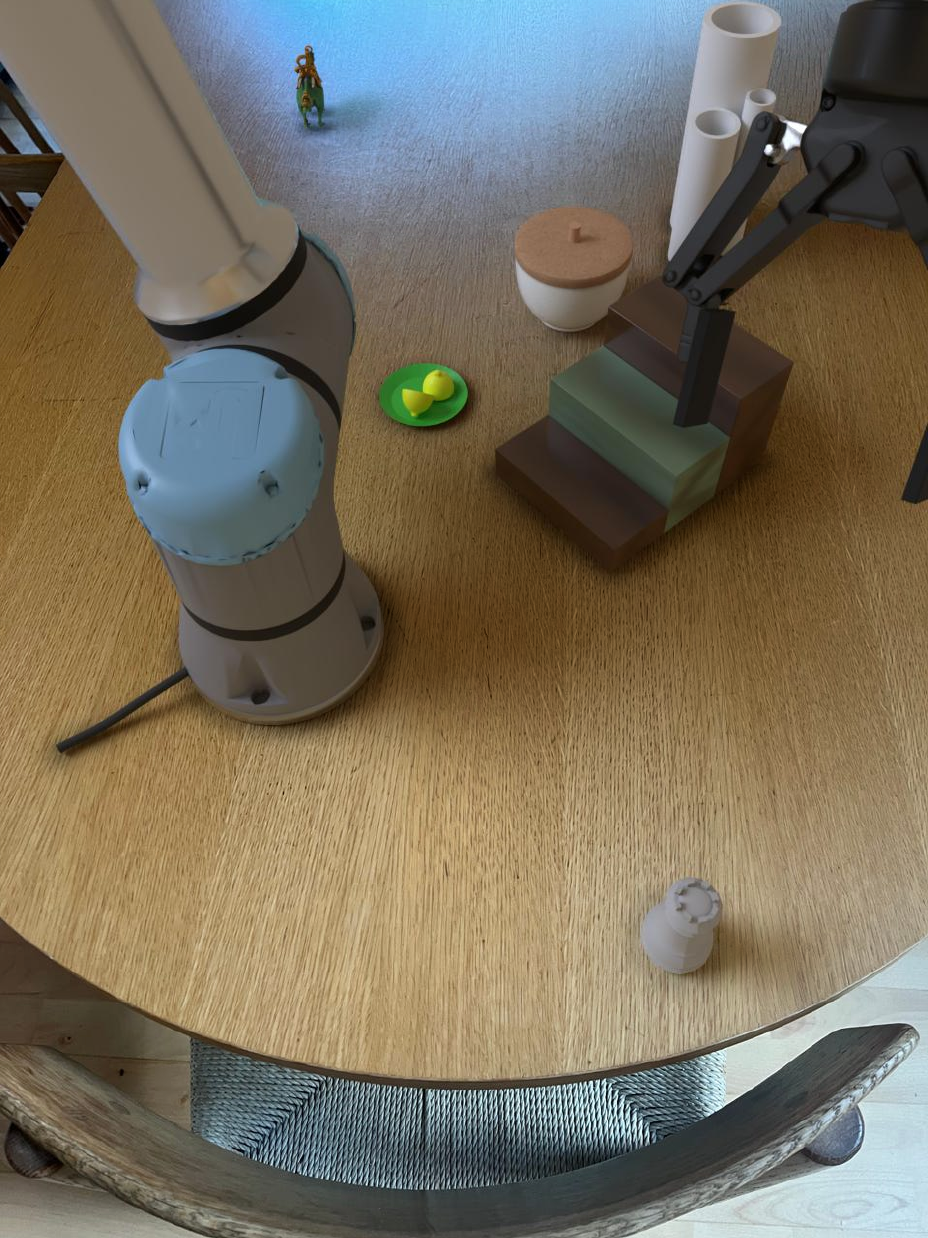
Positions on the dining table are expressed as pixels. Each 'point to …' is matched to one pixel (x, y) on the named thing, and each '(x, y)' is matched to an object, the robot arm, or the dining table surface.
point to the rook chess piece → (682, 926)
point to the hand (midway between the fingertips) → (795, 459)
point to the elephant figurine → (309, 87)
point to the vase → (722, 106)
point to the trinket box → (572, 265)
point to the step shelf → (642, 430)
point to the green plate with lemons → (423, 394)
